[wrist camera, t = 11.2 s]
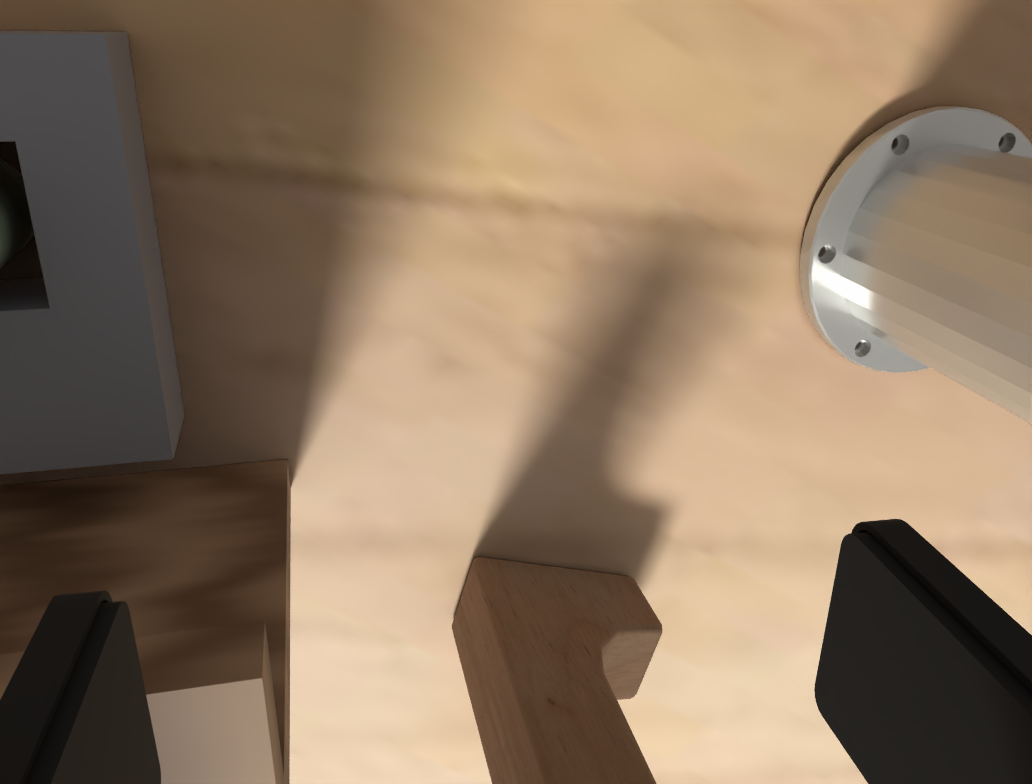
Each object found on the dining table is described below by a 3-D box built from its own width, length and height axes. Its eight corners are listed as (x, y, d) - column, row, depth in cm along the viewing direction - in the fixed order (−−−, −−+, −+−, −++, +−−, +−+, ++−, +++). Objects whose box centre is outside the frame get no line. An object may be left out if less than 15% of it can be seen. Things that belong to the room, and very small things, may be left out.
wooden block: (634, 573, 46) (819, 877, 30) (607, 643, 47) (769, 968, 31) (472, 552, 43) (579, 875, 27) (448, 627, 44) (537, 976, 28)
